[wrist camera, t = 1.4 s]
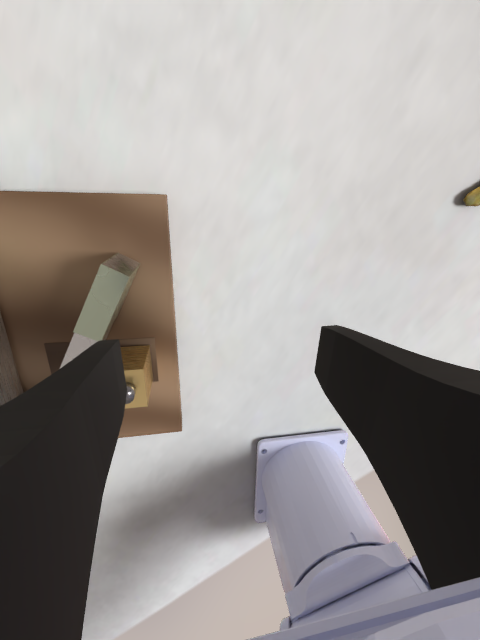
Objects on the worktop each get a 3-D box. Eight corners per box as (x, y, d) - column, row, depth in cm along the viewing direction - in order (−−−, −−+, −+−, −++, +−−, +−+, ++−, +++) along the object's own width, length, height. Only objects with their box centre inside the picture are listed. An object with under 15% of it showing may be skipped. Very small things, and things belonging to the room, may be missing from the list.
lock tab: (152, 378, 20) (146, 413, 16) (121, 380, 19) (107, 416, 16) (149, 345, 19) (141, 375, 15) (116, 347, 18) (100, 377, 15)
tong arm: (74, 413, 19) (51, 455, 16) (53, 407, 19) (24, 449, 16) (140, 263, 17) (129, 277, 14) (118, 252, 16) (100, 263, 13)
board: (182, 420, 23) (181, 432, 22) (8, 437, 21) (-2, 451, 20) (166, 195, 17) (165, 194, 16) (-72, 190, 15) (-94, 188, 14)
